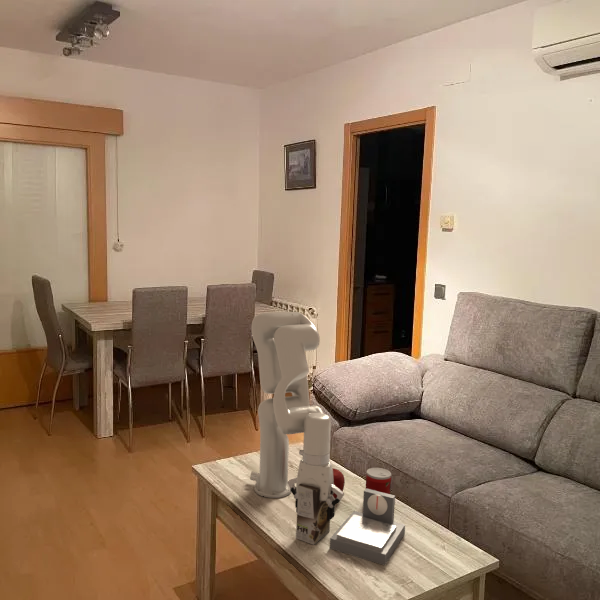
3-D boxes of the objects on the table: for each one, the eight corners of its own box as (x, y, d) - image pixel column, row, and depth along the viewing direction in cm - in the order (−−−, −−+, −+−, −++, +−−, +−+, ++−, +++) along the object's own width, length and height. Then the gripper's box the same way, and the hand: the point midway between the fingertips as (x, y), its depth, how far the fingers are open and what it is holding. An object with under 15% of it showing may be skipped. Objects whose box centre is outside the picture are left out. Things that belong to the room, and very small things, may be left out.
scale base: (329, 548, 159) (331, 510, 158) (353, 520, 175) (355, 485, 174) (384, 565, 152) (387, 526, 151) (404, 534, 168) (406, 498, 167)
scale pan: (336, 538, 159) (336, 534, 159) (353, 517, 171) (353, 514, 170) (381, 551, 153) (381, 547, 153) (396, 529, 165) (396, 525, 165)
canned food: (389, 512, 181) (390, 478, 179) (363, 508, 182) (365, 475, 181) (390, 501, 188) (392, 469, 187) (365, 497, 190) (367, 466, 188)
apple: (337, 490, 194) (338, 462, 193) (348, 503, 185) (350, 474, 184) (311, 493, 191) (312, 465, 190) (321, 507, 182) (322, 477, 181)
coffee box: (314, 545, 160) (316, 490, 158) (295, 538, 164) (297, 484, 162) (330, 531, 168) (332, 479, 166) (311, 525, 171) (313, 473, 169)
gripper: (283, 455, 163) (281, 513, 165) (339, 468, 156) (337, 528, 157) (295, 447, 170) (293, 502, 172) (349, 458, 162) (347, 516, 164)
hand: (314, 514), depth 165 cm, fingers open, 9 cm apart
